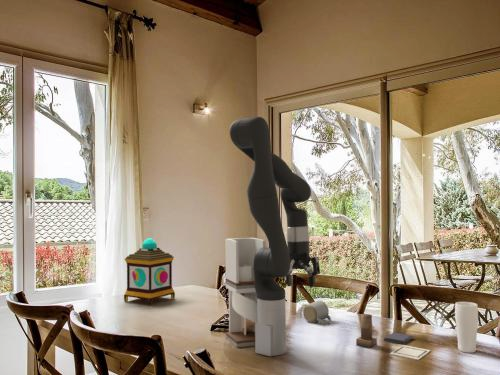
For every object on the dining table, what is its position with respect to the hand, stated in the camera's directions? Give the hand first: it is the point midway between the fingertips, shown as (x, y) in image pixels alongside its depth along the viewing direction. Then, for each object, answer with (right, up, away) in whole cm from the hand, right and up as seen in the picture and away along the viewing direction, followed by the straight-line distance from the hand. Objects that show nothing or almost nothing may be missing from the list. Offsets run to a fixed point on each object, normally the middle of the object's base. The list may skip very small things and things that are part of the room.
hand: (300, 286), depth 170 cm
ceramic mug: (+10, -19, +26) cm, 34 cm away
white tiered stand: (-19, -19, 0) cm, 27 cm away
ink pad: (+34, -18, 0) cm, 39 cm away
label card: (+33, -18, -14) cm, 40 cm away
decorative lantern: (-66, -21, +68) cm, 97 cm away
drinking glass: (+52, -18, -12) cm, 57 cm away
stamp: (+22, -19, -5) cm, 29 cm away
